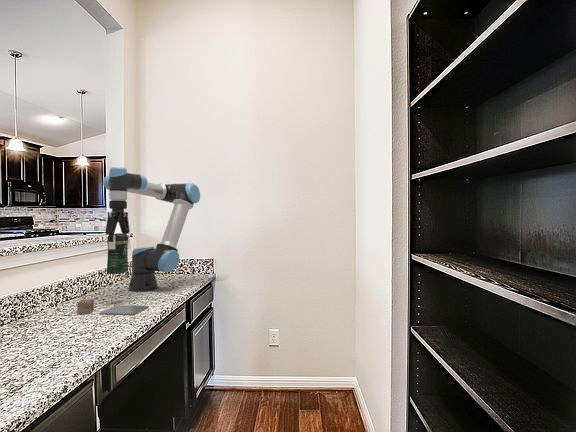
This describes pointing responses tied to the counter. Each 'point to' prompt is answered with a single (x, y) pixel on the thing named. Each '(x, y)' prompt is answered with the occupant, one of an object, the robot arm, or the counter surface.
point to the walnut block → (85, 306)
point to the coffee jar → (118, 255)
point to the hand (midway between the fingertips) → (118, 248)
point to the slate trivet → (124, 310)
